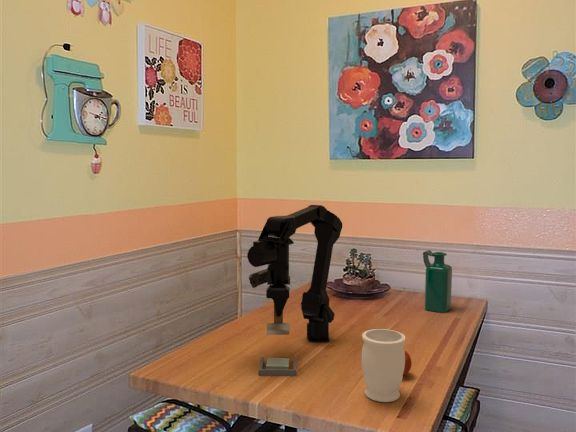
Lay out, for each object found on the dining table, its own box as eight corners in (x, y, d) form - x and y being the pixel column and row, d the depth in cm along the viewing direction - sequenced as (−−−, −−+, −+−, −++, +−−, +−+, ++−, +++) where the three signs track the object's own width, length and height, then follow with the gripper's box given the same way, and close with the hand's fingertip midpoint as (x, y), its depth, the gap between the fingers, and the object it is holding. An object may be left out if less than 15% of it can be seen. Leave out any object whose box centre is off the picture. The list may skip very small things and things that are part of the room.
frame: (296, 362, 150) (296, 357, 150) (296, 375, 141) (296, 370, 141) (260, 362, 150) (260, 356, 150) (258, 375, 141) (258, 370, 141)
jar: (356, 386, 135) (357, 328, 133) (396, 385, 135) (398, 327, 134) (366, 406, 124) (367, 343, 122) (409, 404, 125) (411, 342, 123)
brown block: (289, 330, 155) (289, 300, 154) (289, 334, 151) (289, 304, 150) (267, 330, 155) (267, 300, 154) (266, 334, 151) (266, 304, 150)
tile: (289, 365, 149) (289, 358, 149) (288, 373, 143) (288, 366, 143) (267, 364, 150) (267, 357, 149) (266, 373, 144) (266, 366, 143)
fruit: (379, 372, 143) (380, 343, 142) (401, 368, 146) (401, 340, 145) (394, 382, 137) (395, 352, 136) (416, 378, 140) (417, 348, 139)
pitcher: (451, 308, 204) (454, 251, 201) (445, 313, 196) (447, 255, 194) (426, 304, 209) (428, 249, 206) (419, 309, 202) (421, 252, 199)
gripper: (253, 255, 160) (253, 305, 162) (247, 267, 142) (247, 324, 143) (290, 255, 160) (290, 305, 162) (289, 268, 141) (289, 325, 143)
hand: (278, 314), depth 153 cm, fingers closed on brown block, 2 cm apart
